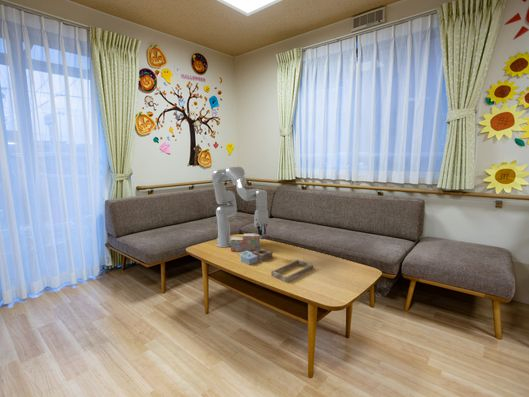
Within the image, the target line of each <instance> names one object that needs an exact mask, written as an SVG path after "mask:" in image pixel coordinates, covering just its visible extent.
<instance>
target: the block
mask: <svg viewBox="0 0 529 397" xmlns="http://www.w3.org/2000/svg"><path fill="white" fill-rule="evenodd" d="M240 262H242V263H243V264H246V265H248V266H250V265H252V264H255V263H258V262H259V260H258V256H257V255H254V254H252V253H248V254H245V255H242V256H241V257H240Z"/></svg>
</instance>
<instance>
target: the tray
mask: <svg viewBox="0 0 529 397" xmlns="http://www.w3.org/2000/svg"><path fill="white" fill-rule="evenodd" d="M248 253H252V252H250V251H243V252H242V251H240V252H239V253H238V254H237V255H238V257H240V258H241V256H242V255H245V254H248Z"/></svg>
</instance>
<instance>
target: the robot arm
mask: <svg viewBox="0 0 529 397" xmlns="http://www.w3.org/2000/svg"><path fill="white" fill-rule="evenodd" d="M245 174H246V173H245V169H244V168H243V167H241V166H231V167H228V168H221V169H217V170H214V171H213V172H212V174H211V181H212V185H213V187H214V195H215V201H216V203H217V204H218V205H220V206H218V207H217V208H216V210H215V215H216V220H217V238H216V241H217V243H216V247H220V248H227V247H231V223H230V221H229V218H230V217H234V216H236V214H238V213H237V212H238V208H237V207H238V206H237V201H236V196H235V193H234V192H233V191H231V190H227V189H226V184H225V183H224V182H223V181H231V182H232V183H233V184H234V185H235V186H236V191H237V194H238V196H239V197H240V198H241V199H242V200H244V201H245V202H249V201H255V210H254V216H253V217H254V218H253V224H254V226H253V227H255V228H256V229H257V234H258V235H262V230H261V225H264V235H266V234H267V232H266V231H267V227H268V225H269V224H270V222H269V219H270V218H269V211H268V192H267V190H265V189H259V188H251V189H247V188H245V184H246V183H247V179H246V177H245Z"/></svg>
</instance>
